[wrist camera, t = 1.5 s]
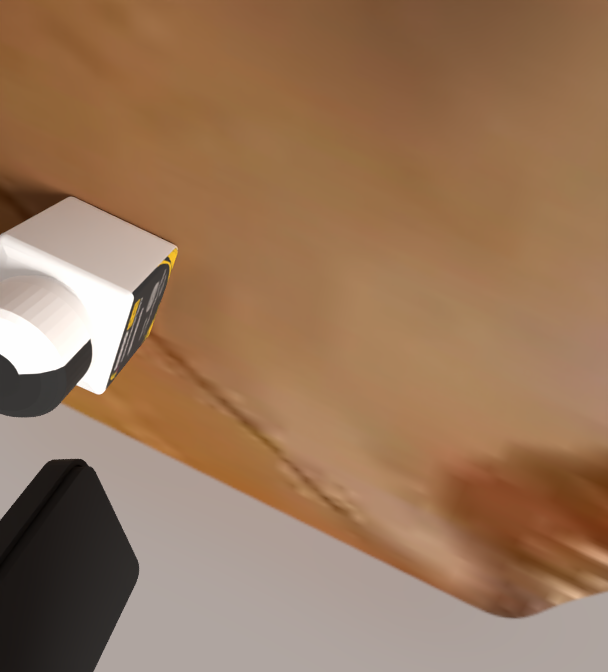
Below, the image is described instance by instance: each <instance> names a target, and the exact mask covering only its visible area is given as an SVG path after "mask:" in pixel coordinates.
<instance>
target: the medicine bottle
mask: <svg viewBox="0 0 608 672" xmlns="http://www.w3.org/2000/svg"><path fill="white" fill-rule="evenodd" d="M177 253H178V248H177V246H176V245H174V244H172V243H170V242H168V241H166V240H164V239H161V238H159V237H157V236H155V235H153V234H151V233H149V232H147V231H145V230H142V229H140V228H138V227H136V226H134V225H132V224H130V223H128V222H126V221H123V220H121V219H119V218H117V217H115V216H113V215H111V214H109V213H107V212H105V211H102V210H100V209H98V208H96V207H94V206H92V205H90V204H88V203H86V202H83V201H81V200H79V199H77V198H75V197H68V198H66V199H64V200H62V201H60V202H58V203H57V204H55V205H53V206H51V207H49V208H48V209H46V210H44V211H42V212H40V213H39V214H37V215H35V216H33V217H31V218H30V219H28V220H26V221H24V222H22V223H21V224H19V225H17V226H15V227H13V228H12V229H10V230H8V231H6V232H4V233H3V234H1V235H0V414H3V415H7V416H12V417H36V416H41V415H44V414H46V413H48V412H50V411H52V410H53V409H54V408H56V407H57V406H58V405H59V404H60V403H61V401H62V400H63V399H64V398H65V397H66V396H67V395H68V394H69V392H70V391H71V390H72V389H73V388H74V387H75V386H76V385H77V386H80V387H82V388H84V389H86V390H89V391H91V392H93V393H95V394H102V393H103V392H104V391H105V390H106V389H107V387H108V386H109V385H110V383H111V382H112V381H113V380H114V378H115V377H116V376H117V375H118V373H119V372H120V371H121V370H122V368H123V367H124V366H125V365H126V363H127V362H128V361H129V359H130V358H131V357H132V356H133V354H134V353H135V352H136V351H137V349H138V348H139V347H140V346H141V344H142V343H143V342H144V341H145V339H146V338H147V337H148V335H149V334H150V331H151V328H152V325H153V322H154V319H155V316H156V314H157V311H158V308H159V305H160V302H161V299H162V296H163V293H164V290H165V288H166V285H167V282H168V279H169V276H170V273H171V270H172V267H173V265H174V262H175V259H176V256H177Z"/></svg>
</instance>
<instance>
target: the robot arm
mask: <svg viewBox="0 0 608 672" xmlns="http://www.w3.org/2000/svg"><path fill="white" fill-rule="evenodd" d="M138 575H139V564H138V560H137V558H136V556H135V554H134V552H133V550H132V548H131V545H130V544H129V541H128V539H127V537H126V535H125V533H124V531H123V529H122V527H121V524H120V522H119V520H118V518H117V516H116V514H115V512H114V510H113V508H112V506H111V503H110V501H109V499H108V497H107V495H106V493H105V491H104V489H103V487H102V485H101V483H100V480H99V478H98V476H97V474H96V472H95V471H94V469H93V468H92V467H89V466H88V465H87V463H86V462H85V461H84V460H82V459H61V460H60V459H59V460H51V461H49V462H48V463H46V464H45V465H44V466H43V468H42V469H41V470H40V472H39V473H38V474H37V475H36V476H35V478H34V479H33V480H32V481H31V483H30V484H29V485H28V486H27V488H26V489H25V490H24V491H23V493H22V494H21V495H20V496H19V498H18V499H17V500H16V501H15V503H14V504H13V505H12V506H11V508H10V509H9V510H8V511H7V513H6V514H5V515H4V516H3V518H2V519H1V520H0V672H93V671H94V669H95V667H96V665H97V663H98V661H99V659H100V657H101V655H102V652H103V650H104V648H105V646H106V644H107V642H108V640H109V638H110V636H111V634H112V632H113V630H114V628H115V626H116V623H117V621H118V619H119V617H120V615H121V613H122V611H123V609H124V607H125V605H126V602H127V601H128V598H129V596H130V594H131V592H132V590H133V588H134V586H135V584H136V582H137V579H138Z"/></svg>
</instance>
